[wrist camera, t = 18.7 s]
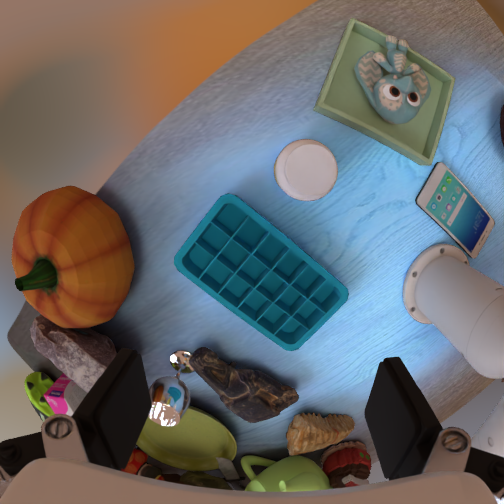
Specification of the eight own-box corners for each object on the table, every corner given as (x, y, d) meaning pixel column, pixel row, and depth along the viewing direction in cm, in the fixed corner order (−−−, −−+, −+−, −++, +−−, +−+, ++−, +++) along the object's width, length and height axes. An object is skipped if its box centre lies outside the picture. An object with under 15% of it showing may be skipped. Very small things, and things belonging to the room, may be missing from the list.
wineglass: (159, 354, 43) (132, 404, 32) (187, 341, 42) (164, 393, 31) (180, 380, 45) (160, 432, 33) (208, 369, 44) (193, 423, 32)
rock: (71, 326, 47) (132, 300, 46) (90, 402, 42) (157, 385, 41) (16, 314, 34) (79, 280, 33) (34, 408, 29) (104, 394, 28)
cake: (309, 455, 49) (316, 528, 31) (344, 432, 47) (361, 508, 29) (341, 468, 50) (353, 532, 33) (374, 447, 48) (395, 513, 31)
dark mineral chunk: (303, 412, 39) (264, 337, 36) (231, 433, 41) (181, 366, 37) (299, 388, 45) (262, 316, 41) (233, 409, 46) (188, 344, 42)
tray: (444, 82, 31) (455, 78, 28) (420, 165, 34) (431, 165, 31) (346, 26, 30) (351, 17, 27) (312, 110, 33) (317, 105, 30)
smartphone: (440, 159, 33) (496, 222, 34) (437, 159, 34) (493, 221, 35) (415, 202, 35) (474, 261, 36) (412, 202, 35) (471, 259, 37)
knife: (234, 451, 44) (207, 456, 44) (235, 456, 44) (207, 460, 43) (249, 486, 54) (229, 490, 54) (250, 490, 53) (230, 494, 53)
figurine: (102, 466, 47) (156, 503, 42) (88, 453, 42) (147, 497, 37) (125, 439, 54) (179, 473, 50) (114, 423, 49) (173, 462, 45)
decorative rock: (248, 539, 36) (265, 508, 46) (219, 495, 37) (242, 462, 46) (188, 526, 42) (209, 500, 51) (156, 482, 42) (183, 456, 52)
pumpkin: (162, 297, 41) (123, 357, 27) (67, 316, 43) (17, 364, 28) (121, 164, 36) (54, 168, 21) (28, 207, 37) (-38, 228, 23)
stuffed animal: (447, 42, 22) (448, 133, 26) (423, 56, 29) (421, 135, 33) (365, 13, 22) (362, 109, 26) (351, 35, 29) (346, 117, 33)
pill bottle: (333, 168, 35) (360, 167, 24) (302, 205, 37) (316, 219, 26) (294, 135, 34) (306, 120, 24) (262, 173, 36) (261, 174, 25)
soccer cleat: (138, 472, 40) (130, 478, 46) (49, 357, 48) (52, 379, 54) (101, 499, 32) (99, 500, 38) (12, 374, 40) (21, 395, 46)
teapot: (286, 506, 49) (229, 522, 42) (286, 436, 55) (224, 448, 48) (342, 536, 33) (278, 565, 27) (350, 457, 39) (279, 484, 32)
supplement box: (96, 359, 45) (65, 399, 33) (109, 385, 46) (83, 426, 35) (73, 359, 45) (42, 395, 34) (86, 384, 47) (59, 421, 35)
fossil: (276, 457, 41) (302, 429, 39) (272, 433, 47) (296, 403, 44) (333, 461, 44) (362, 434, 41) (326, 439, 49) (352, 411, 47)
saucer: (229, 467, 51) (227, 478, 48) (135, 444, 51) (131, 454, 48) (248, 408, 45) (246, 421, 42) (130, 379, 45) (124, 390, 42)
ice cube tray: (290, 343, 42) (292, 354, 39) (176, 256, 39) (169, 263, 36) (347, 285, 39) (353, 293, 36) (229, 187, 36) (226, 188, 33)
